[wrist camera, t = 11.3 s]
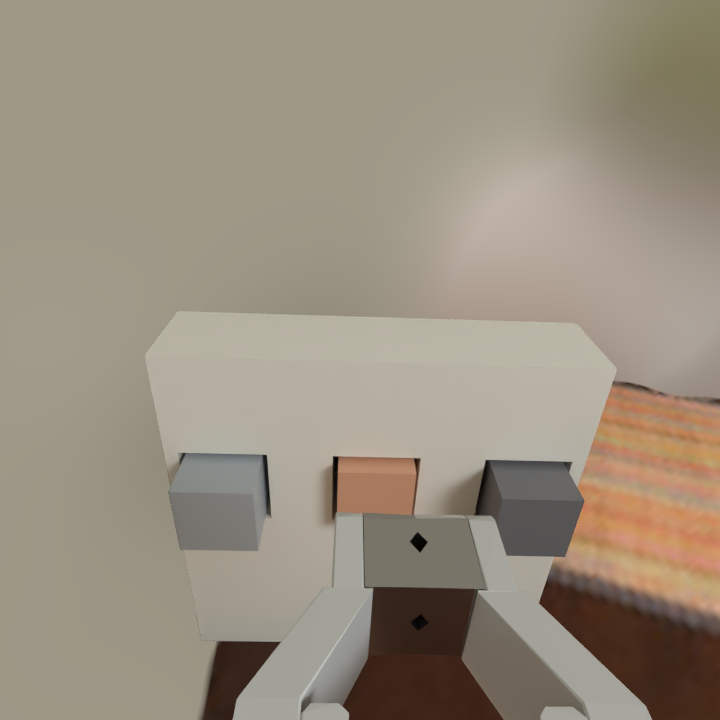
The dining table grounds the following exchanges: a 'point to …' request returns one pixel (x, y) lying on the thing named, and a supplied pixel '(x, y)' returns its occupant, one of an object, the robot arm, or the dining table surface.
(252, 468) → the slate grey button
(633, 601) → the dining table surface
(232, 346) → the control panel
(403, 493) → the terracotta button
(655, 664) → the dining table surface
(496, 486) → the charcoal button
